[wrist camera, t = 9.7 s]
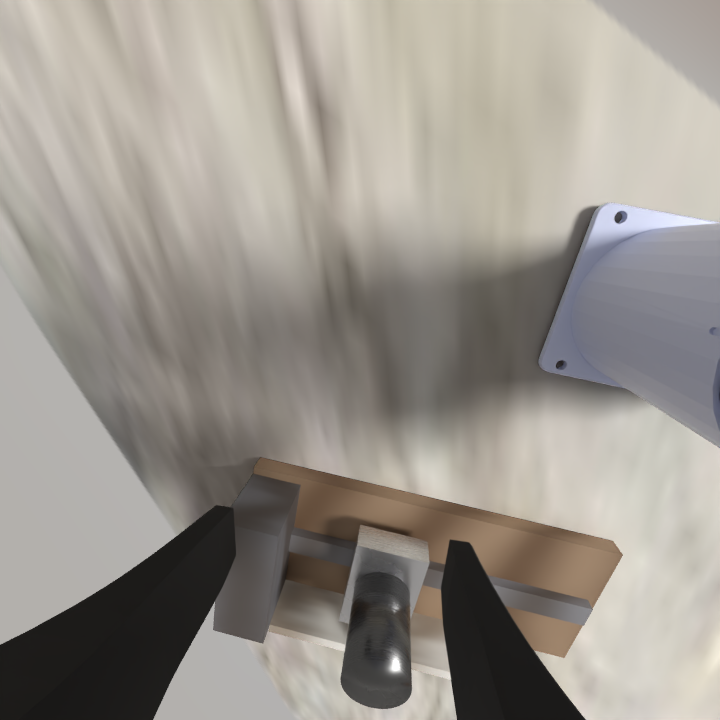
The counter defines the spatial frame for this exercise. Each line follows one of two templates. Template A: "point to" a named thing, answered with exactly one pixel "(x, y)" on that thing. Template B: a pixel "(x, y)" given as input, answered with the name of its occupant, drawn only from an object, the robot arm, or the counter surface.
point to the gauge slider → (381, 616)
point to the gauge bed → (406, 517)
